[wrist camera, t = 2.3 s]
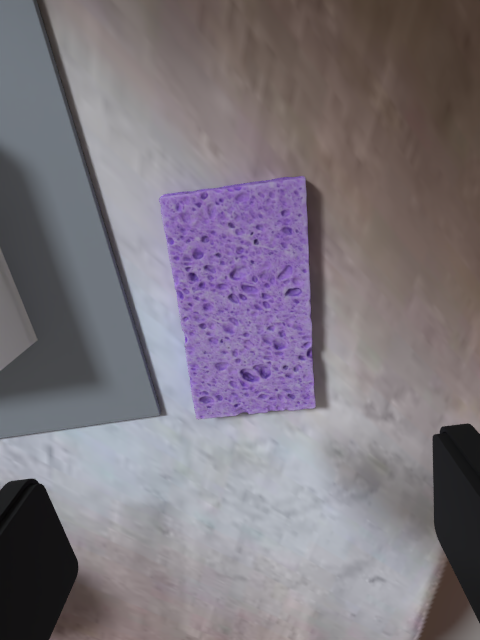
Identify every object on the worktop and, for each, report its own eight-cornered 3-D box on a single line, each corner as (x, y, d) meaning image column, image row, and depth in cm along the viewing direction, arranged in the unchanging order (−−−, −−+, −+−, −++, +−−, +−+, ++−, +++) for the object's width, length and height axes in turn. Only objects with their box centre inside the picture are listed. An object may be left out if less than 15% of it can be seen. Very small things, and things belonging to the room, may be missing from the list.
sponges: (198, 402, 25) (194, 420, 23) (163, 189, 20) (154, 192, 18) (312, 393, 24) (317, 410, 22) (302, 174, 20) (307, 175, 18)
